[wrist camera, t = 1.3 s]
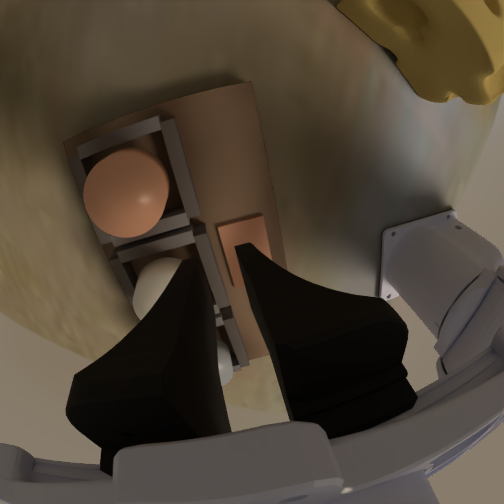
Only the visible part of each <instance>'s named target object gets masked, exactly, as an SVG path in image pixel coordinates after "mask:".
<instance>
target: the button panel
mask: <svg viewBox="0 0 504 504" xmlns="http://www.w3.org/2000/svg"><path fill="white" fill-rule="evenodd" d="M63 144H64V147H65V150H66V153H67V156H68V158H67V159H68V162H69V165H70V168H71V171H72V173H73V176H74V179H75V182H76V185H77V187H78V190H79V193H80V195H81V198H82V201H83V203H84V197H83V192H84V185H85V182H86V179H87V177H88V174H89V173H90V171H91V170H92V169H93V167H94V166H95V165H96V164H97V163H99V162H100V161H101V160H103V159H104V158H106V157H107V156H109V155H111V154H112V153H114V152H116V151H118V150H120V149H124V148H140V149H144V150H146V151H149V152H150V153H152V154H154V155H155V156H156V157H157V158H158V159H159V160H160V161H161V162H162V164H163V165H164V167H165V169H166V171H167V174H168V177H169V194H168V198H167V201H166V205H165V208H164V211H163V214H162V216H161V218H160V219H159V221H158V222H157V223H156V225H155V226H154V227H153V228H151V229H150V230H149V231H147V232H146V233H144V234H141V235H139V236H135V237H129V238H122V237H116V236H113V235H110V234H108V233H106V232H104V231H103V230H101V229H100V228H99V227H98V226H97V225H95V223H94V222H93V221H92V220H91V218H90V217H89V218H90V221H91V223H92V225H93V228H94V230H95V232H96V235H97V237H98V239H99V241H100V244H101V245H102V247H103V249H104V251H105V253H106V255H107V257H108V260H109V263H110V265H111V267H112V269H113V271H114V273H115V275H116V277H117V279H118V281H119V283H120V285H121V287H122V289H123V291H124V293H125V295H126V297H127V299H128V300H129V302H130V304H131V306H132V308H133V296H134V292H135V288H136V284H137V280H138V276H139V274H140V272H141V270H142V269H143V268H144V267H145V266H146V265H147V264H148V263H150V262H152V261H154V260H156V259H159V258H166V257H172V258H178V259H181V260H185V259H189V258H192V257H196V256H198V259H199V262H200V265H201V268H202V271H203V273H204V276H205V279H206V282H207V285H208V287H209V290H210V293H211V296H212V300H213V305H214V311H215V317H216V332H217V339H219V340H221V341H223V342H224V343H225V344H226V345H227V346H228V348H229V350H230V356H231V361H232V367H233V372H236V371H240V370H242V369H241V367H244V366H248V365H250V364H249V360H251V359H255V358H259V357H262V356H266V355H270V354H269V351H268V349H267V346H266V344H265V342H264V339H263V337H262V334H261V332H260V329H259V327H258V325H257V322H256V320H255V317H254V315H253V312H252V310H251V307H250V303H249V299H248V296H247V292H246V288H245V285H244V281H243V277H242V274H241V270H240V266H239V263H238V259H237V255H236V251H235V248H234V246H237V245H241V244H244V243H248V242H250V243H252V244H253V245H254V246H255V247H256V248H257V249H258V250H260V251H261V252H262V253H263V254H264V255H265V256H267V257H268V258H269V259H271V260H272V261H273V262H275V263H276V264H278V265H279V266H281V267H282V268H284V269H285V270H287V266H286V260H285V254H284V248H283V243H282V237H281V231H280V225H279V220H278V214H277V208H276V203H275V197H274V192H273V187H272V181H271V176H270V171H269V166H268V160H267V155H266V150H265V145H264V140H263V135H262V130H261V125H260V121H259V116H258V111H257V106H256V102H255V97H254V92H253V88H252V83H251V81H250V82H244V83H239V84H234V85H229V86H224V87H220V88H215V89H211V90H207V91H203V92H199V93H195V94H191V95H187V96H184V97H180V98H177V99H173V100H170V101H167V102H163V103H160V104H157V105H154V106H151V107H148V108H145V109H142V110H139V111H136V112H133V113H130V114H128V115H125V116H122V117H120V118H117V119H114V120H112V121H109V122H107V123H104V124H102V125H100V126H97V127H95V128H92V129H90V130H88V131H86V132H83V133H81V134H79V135H77V136H75V137H72V138H70V139H68V140H66V141H64V142H63ZM84 206H85V204H84ZM88 216H89V215H88ZM133 310H134V308H133ZM137 317H138V316H137ZM138 319H139V318H138ZM139 320H140V319H139ZM140 321H141V320H140Z"/></svg>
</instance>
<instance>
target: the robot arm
mask: <svg viewBox="0 0 504 504" xmlns="http://www.w3.org/2000/svg"><path fill="white" fill-rule="evenodd" d="M393 232H394V233H393ZM392 233H393V234H392ZM234 248H235V251H236V255H237V259H238V263H239V266H240V270H241V274H242V277H243V281H244V285H245V288H246V292H247V296H248V299H249V303H250V307H251V310H252V312H253V315H254V317H255V320H256V322H257V325H258V327H259V329H260V332H261V334H262V337H263V339H264V342H265V344H266V346H267V349H268V351H269V354H270V357H271V359H272V363H273V366H274V369H275V373H276V376H277V379H278V383H279V386H280V389H281V393H282V396H283V399H284V403H285V406H286V409H287V413H288V416H289V419H290V421H289V422H282V423H275V424H269V425H263V426H259V427H254V428H250V429H246V430H241V431H236V432H232V431H231V427H230V424H229V419H228V414H227V410H226V405H225V400H224V396H223V390H222V385H221V380H220V374H219V366H218V351H217V332H216V317H215V311H214V305H213V300H212V296H211V293H210V290H209V287H208V285H207V282H206V279H205V276H204V273H203V271H202V268H201V265H200V262H199V259H198V256H196V257H192V258H189V259H185V260H182V262H181V263H180V265H179V267H178V268H177V270H176V272H175V273H174V275H173V277H172V278H171V280H170V282H169V283H168V285H167V286H166V288H165V290H164V291H163V292H162V294H161V295H160V297H159V298H158V300H157V301H156V302H155V304H154V305H153V307H152V308H151V309H150V310H149V312H148V313H147V314H146V315H145V316H144V318H143V319H142V320H141V321H140V322H139V323H138V324H137V325H136V326H135V327H134V328H133V329H132V330H131V331H130V332H129V333H128V334H127V335H126V336H125V337H124V338H123V339H122V340H121V341H120V342H119V343H118V344H117V345H115V346H114V347H113V348H112V349H111V350H109V351H108V352H107V353H106V354H104V355H103V356H102V357H100V358H99V359H98V360H96V361H95V362H93V363H92V364H90V365H89V366H87V367H86V368H84V369H83V370H81V371H80V372H78V373H77V374H75V375H74V378H73V382H72V385H71V389H70V393H69V397H68V401H67V406H66V416H67V418H68V419H69V421H70V423H71V424H72V425H73V426H74V427H75V428H76V429H77V430H78V431H79V432H81V433H82V434H83V435H85V436H86V437H87V438H88V439H90V440H91V441H92V442H94V443H95V444H96V445H98V446H99V447H101V459H100V465H96V464H82V463H70V462H61V461H53V460H45V459H40V458H34V457H33V456H32V455H31V454H29V453H28V452H27V451H25V450H23V449H22V448H20V447H17V446H14V445H9V444H4V443H0V501H1V502H3V503H5V504H439V502H438V499H437V497H436V495H435V493H434V491H433V489H432V487H431V485H430V483H429V481H428V479H427V478H428V477H430V476H432V475H433V474H435V473H437V472H438V471H440V470H441V469H443V468H444V467H446V466H447V465H449V464H450V463H452V462H453V461H454V460H456V459H457V458H459V457H460V456H462V455H463V454H464V453H466V452H467V451H468V450H470V449H471V448H472V447H474V446H475V445H476V444H478V443H479V442H480V441H481V440H483V439H484V438H485V437H486V436H487V435H489V434H490V433H491V432H492V431H493V430H494V429H496V428H497V427H498V426H499V425H500V424H501V423H503V422H504V258H503V257H502V254H501V253H500V251H499V250H498V249H497V248H496V247H495V245H493V244H492V243H491V242H489V241H488V240H486V239H485V238H484V237H482V236H480V235H479V234H478V233H476V232H475V231H473V230H472V229H470V228H469V227H467V226H466V225H464V224H463V223H461V222H459V221H458V220H457V211H456V210H454V209H452V210H449V211H446V212H442V213H439V214H436V215H432V216H429V217H426V218H422V219H419V220H415V221H412V222H409V223H405V224H402V225H398V226H395V227H391V228H388V229H386V230H385V231H384V232H383V235H382V261H381V278H380V291H379V298H377V297H369V296H361V295H354V294H349V293H345V292H340V291H336V290H332V289H329V288H326V287H323V286H320V285H317V284H314V283H311V282H309V281H306V280H304V279H302V278H300V277H298V276H296V275H294V274H292V273H290V272H289V271H287V270H285V269H284V268H282V267H281V266H279V265H278V264H276V263H275V262H273V261H272V260H271V259H269V258H268V257H267V256H265V255H264V254H263V253H262V252H261V251H260V250H258V249H257V248H256V247H255V246H254V245H253V244H252V243H250V242H248V243H244V244H241V245H237V246H234ZM397 296H401V297H402V298H403V299H404V300H405V302H406V303H407V304H408V305H409V306H410V307H411V309H412V310H413V311H414V312H415V313H416V314H417V316H418V317H419V318H420V319H421V320H422V321H423V323H424V324H425V325H426V326H427V327H428V329H429V330H430V331H431V332H432V333H433V335H434V336H435V337H436V338H437V340H438V341H437V343H436V344H435V346H434V348H435V350H436V351H437V352H438V354H439V355H440V357H439V358H438V360H437V364H436V367H437V373H438V378H439V379H438V380H437V381H435V382H433V383H431V384H430V385H428V386H426V387H424V388H422V389H421V390H419V391H417V392H415V391H414V390H413V388H412V386H411V385H410V383H409V382H408V380H407V379H406V377H407V375H408V373H407V370H406V368H405V367H404V365H403V364H402V359H403V355H404V352H405V348H406V344H407V340H408V329H407V325H406V323H405V322H404V321H403V320H402V318H401V317H400V316H399V314H398V313H397V312H396V311H395V310H394V309H393V308H392V307H391V306H390V305H389V304H388V303H387V302H386V301H387V300H389V299H392V298H394V297H397Z"/></svg>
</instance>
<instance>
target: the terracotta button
mask: <svg viewBox="0 0 504 504" xmlns="http://www.w3.org/2000/svg"><path fill="white" fill-rule="evenodd" d="M168 194H169V177H168V174H167V171H166V169H165V167H164V165H163V164H162V162H161V161H160V160H159V159H158V158H157V157H156V156H155V155H154V154H152V153H150V152H149V151H146V150H144V149H140V148H124V149H120V150H118V151H116V152H114V153H112V154H111V155H109V156H107V157H106V158H104V159H103V160H101V161H100V162H99V163H97V164H96V165H95V166H94V167H93V169H92V170H91V171H90V173H89V174H88V177H87V179H86V182H85V185H84V192H83V197H84V204H85V208H86V211H87V213H88V215H89V217H90V218H91V220H92V221H93V222H94V223H95V225H97V226H98V227H99V228H100V229H101V230H103V231H104V232H106V233H108V234H110V235H113V236H116V237H122V238H129V237H135V236H139V235H141V234H144V233H146V232H147V231H149V230H150V229H151V228H153V227H154V226H155V225H156V223H157V222H158V221H159V219H160V218H161V216H162V214H163V211H164V208H165V205H166V201H167V198H168Z"/></svg>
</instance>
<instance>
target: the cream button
mask: <svg viewBox="0 0 504 504" xmlns="http://www.w3.org/2000/svg"><path fill="white" fill-rule="evenodd" d="M181 262H182V260H181V259H178V258H172V257H166V258H159V259H156V260H154V261H152V262H150V263H148V264H147V265H146V266H145V267H144V268H143V269H142V270H141V272H140V274H139V276H138V280H137V284H136V288H135V292H134V296H133V308H134V311H135V313H136V315H137V316H138V318H139V319H140V320H142V319H143V318H144V316H145V315H146V314H147V313H148V312H149V310H150V309H151V308H152V307H153V305H154V304H155V302H156V301H157V300H158V298H159V297H160V295H161V294H162V292H163V291H164V290H165V288H166V286H167V285H168V283H169V282H170V280H171V278H172V277H173V275H174V273H175V272H176V270H177V268H178V267H179V265H180V263H181Z"/></svg>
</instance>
